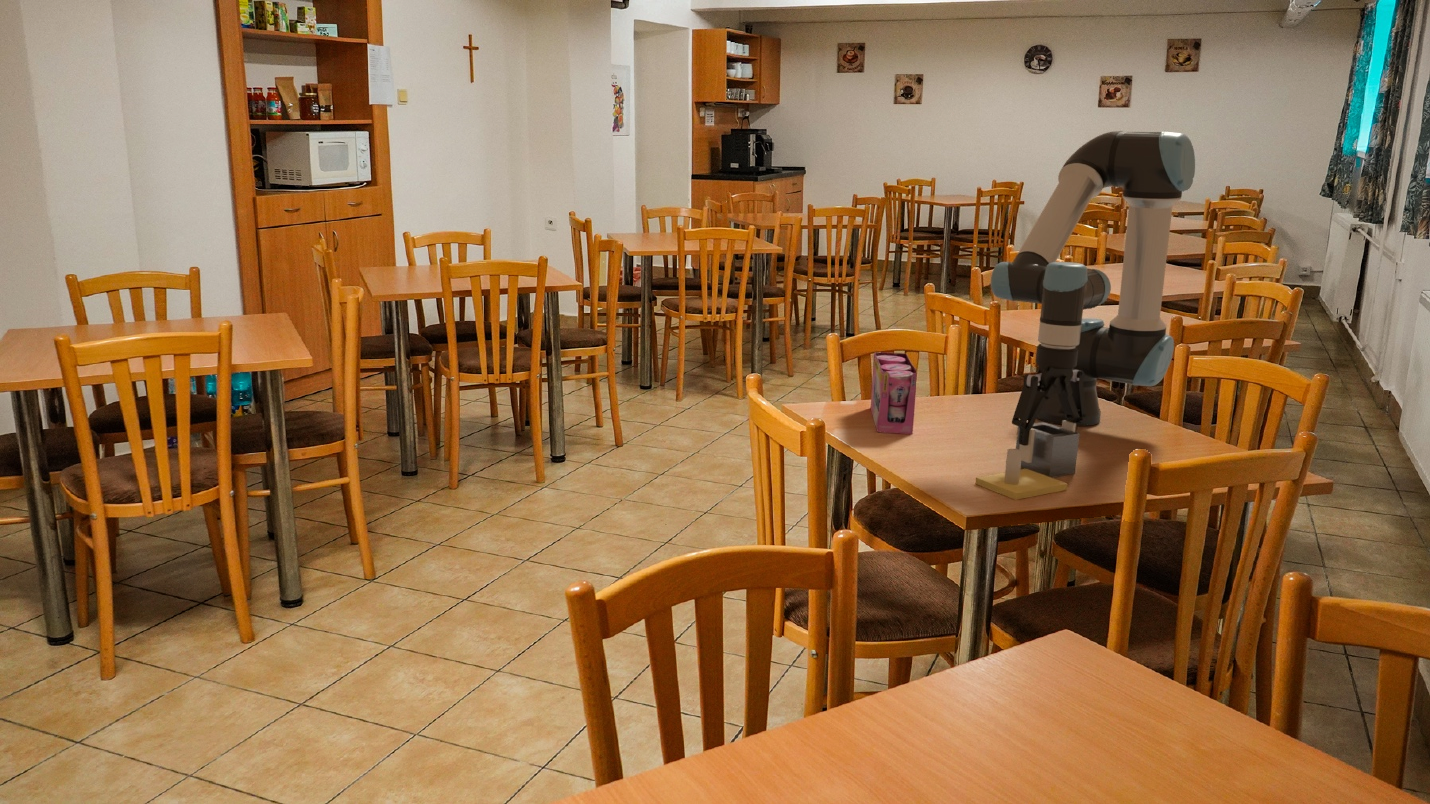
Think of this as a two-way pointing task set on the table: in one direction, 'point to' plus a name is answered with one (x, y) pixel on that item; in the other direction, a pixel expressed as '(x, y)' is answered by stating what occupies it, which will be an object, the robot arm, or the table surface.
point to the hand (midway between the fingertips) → (1045, 457)
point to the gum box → (893, 393)
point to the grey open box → (1052, 450)
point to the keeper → (1019, 480)
